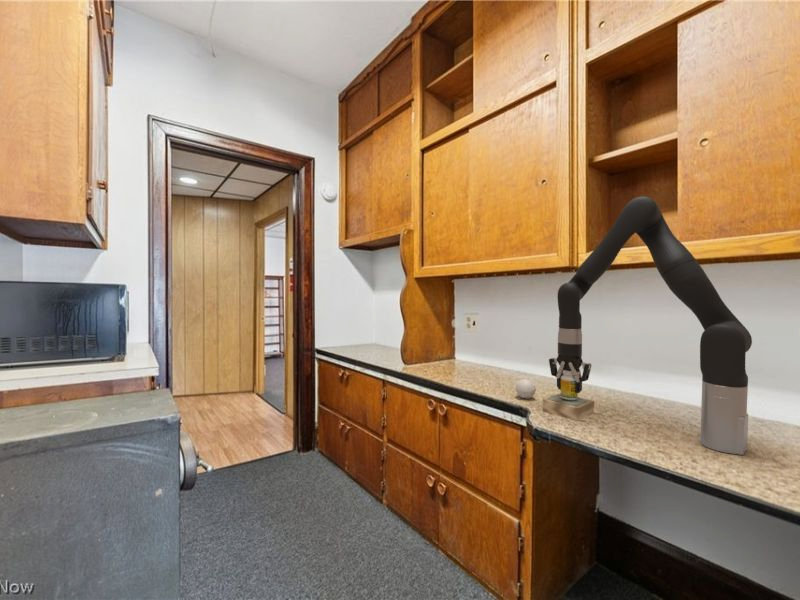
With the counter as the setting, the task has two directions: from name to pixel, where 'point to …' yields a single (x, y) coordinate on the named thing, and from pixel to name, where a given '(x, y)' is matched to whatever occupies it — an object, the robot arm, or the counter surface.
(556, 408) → the oak riser
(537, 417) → the counter surface
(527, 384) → the white egg shape
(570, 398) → the supplement bottle
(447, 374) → the counter surface
